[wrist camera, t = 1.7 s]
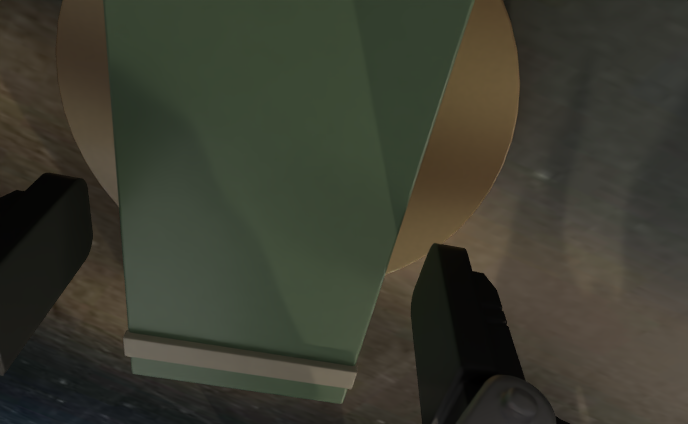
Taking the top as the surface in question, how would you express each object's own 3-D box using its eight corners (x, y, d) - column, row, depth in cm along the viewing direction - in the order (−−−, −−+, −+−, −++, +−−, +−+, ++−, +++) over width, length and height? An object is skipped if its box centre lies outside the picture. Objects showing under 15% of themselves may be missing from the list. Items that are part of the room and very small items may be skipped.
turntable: (36, -218, 13) (14, -224, 12) (596, -83, 14) (611, -80, 13) (92, 241, 21) (81, 256, 20) (435, 298, 22) (438, 314, 21)
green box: (194, -108, 13) (84, -90, 8) (437, -52, 13) (483, -2, 8) (187, 247, 20) (126, 380, 15) (348, 273, 20) (344, 411, 15)
